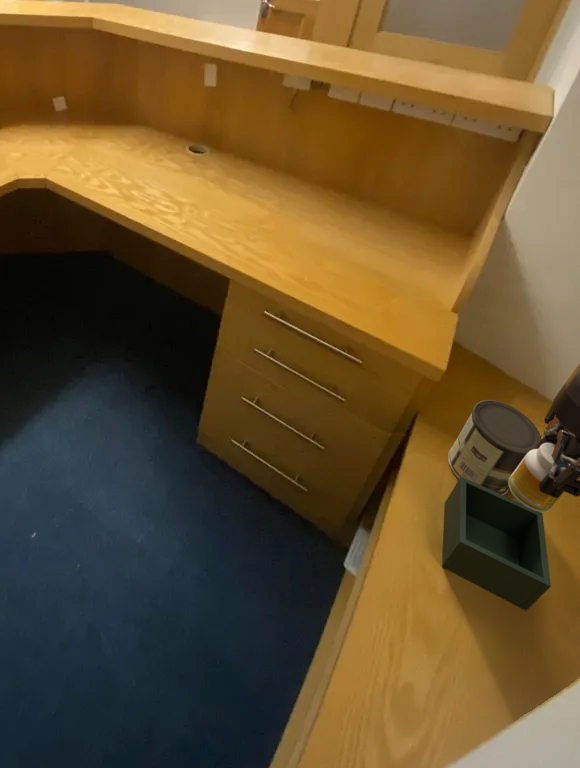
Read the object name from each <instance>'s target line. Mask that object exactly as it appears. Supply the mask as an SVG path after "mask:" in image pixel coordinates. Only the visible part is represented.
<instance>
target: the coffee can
mask: <svg viewBox="0 0 580 768" xmlns="http://www.w3.org/2000/svg"><path fill="white" fill-rule="evenodd" d="M541 440H542V436H541V433H540V431H539V429H538V427H537V426H536V424H535V423H534V422H533V421H532V420H531V419H530V417H528V416H527V415H526V414H524V413H523V412H522V411H521V410H519V409H518V408H516V407H514V406H512V405H510V404H508V403H505V402H502V401H499V400H494V399H484V400H481V401H478V402H476V404H475V405H474V406H473V408H472V410H471V413H470V415H469V417H468V419H467V421H466V422H465V424H464V426H463V428H462V429H461V431H460V433H459V434H458V436H457V438H456V440H455V441H454V443H453V445H452V447H450V449H449V450H448V452H447V453H448V454H447V460H448V464H449V467H450V469H451V471H452V473H453V474H454V475H455V477H456V478H457V479H458V480H459V479H460V478H461V477H463V478H466V479H468V480H470V481H472V482H475V483H477V484H479V485H481V486H483V487H486V488H488V489H490V490H492V491H495V492H497V493H499V494H501V495H503V496H506V494H507V493H508V492H509V491H510V488H509V484H508V481H509V478H510V476H511V475H512V473H513V472H514V471H515V469H516V468H517V466H518V465H519V464H520V462H521V461H522V460H523V458H524V457H525V455H526V454H527V453H528V452H529V451H531V450H533V449H535V448H536V447H537V445H538V444H539V443H540V441H541Z"/></svg>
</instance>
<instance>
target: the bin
mask: <svg viewBox="0 0 580 768" xmlns="http://www.w3.org/2000/svg"><path fill="white" fill-rule="evenodd" d="M443 512H444V513H443V531H442V532H443V533H442V534H443V537H442V556H441V558H442V560H441V567H442V568H443V569H446V570H447V571H449V572H451V573H453V574H455V575H457V576H459V577H461V578H463V580H467V581H468V582H470V583H473V584H474V585H476V586H478V587H480V588H482V589H484V590H486V591H488V592H489V593H491V594H493V595H495V596H496V597H499V598H501V599H503V600H505V601H506V602H509V603H510V604H513V606H516V607H517V608H520V609H521V610H524V611H528V610H529V609H530V608H531V607H532V606H533V605H534V604H535V603H536V602H537V601H538V600H539V599H540V598H541V597H542V596H543V595H544V594H545V593H546V592H547V591H548V590H549V589H550V588H551V586H552V585H551V577H550V576H551V575H550V567H549V559H548V549H547V541H546V540H547V539H546V533H545V531H546V530H545V524H544V523H545V522H544V515H543V513H544V512H539V511H535V510H532V509H530V508H528V507H526V506H524V505H523V504H522V503H520V502H519V501H518V500H514V499H513V498H510V497H508V496H506V495H501V494H499V493H497V492H495V491H492V490H490V489H488V488H486V487H483V486H481V485H479V484H477V483H475V482H472V481H470V480H468V479H466V478H463V477H461V478H460V479H458V481H457V483H456V484H455V485H454V487H453V489H452V490H451V492H450V493H449V495H448V497H447V498H446V500H445V502H444V510H443Z"/></svg>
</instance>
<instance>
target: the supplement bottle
mask: <svg viewBox="0 0 580 768" xmlns="http://www.w3.org/2000/svg"><path fill="white" fill-rule="evenodd" d="M555 446H556V445H555V444H552V443H544V444H542V445H541V446H540V447H539V448H538V449H533V450H531V451H529V452H528V453H527V454H526V455H525V457H524V458H523V460H522V461H521V462H520V464H519V465H518V466H517V468H516V469H515V471H514V472H513V473H512V475H511V476H510V478H509V481H508V484H509V491H510V493H511V494H512V496H513V497H514V498H515V499H516V501H517V502H519V503H521V504H523V505H524V506H526V507H528V508H530V509H532V510H535V511H539V512H541V513H544V512H547V511H549V510H550V509H552V507H553V506H554V505H555V504H556V502H557V501H558V500H559V499H560V497H559V498H554V497H552V496H549V495H547V494H545V493H542V492H541V491H540V490H539V484H540V483H541V482H542V480H543V479H544V478H545V476H546V475H547V474H548V473H549V472H550V470H551V468H552V465H553V463H554V461H553V459H552V457H551V455H552V453H553V450H554V448H555ZM561 457H563V458H566V459H568V460H571V461H573V462H575V460H574V459H571V458H569V457H566V456H565V455H563V454H562V455H561ZM566 469H567V468H565V467H562V468H561V469H560V471H559V472H561V473H562V472H563V471H564V470H566ZM564 493H565V492H563V493H562V494H561V496H562V495H563V494H564Z"/></svg>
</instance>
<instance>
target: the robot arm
mask: <svg viewBox="0 0 580 768" xmlns="http://www.w3.org/2000/svg"><path fill="white" fill-rule="evenodd" d="M544 424H546V425H547V426H546V427H545V428H544V429H543V437H542V438H541V441H540V443H539V444H538V445H537V447H536V448H535V449H538V448H539V447H540V446H541V445H542V444H544V443H552V444H555V445H556V446H555V448H554V450H553V453H552V455H551V457H552V459H553V461H554V463H553V465H552V468H551V470H550V472H549V473H548V474H547V475H546V476H545V478H544V479H543V480H542V482H541V483H540V484H539V490H540V491H541V492H542V493H545V494H547V495H549V496H552V497H554V498H559V499H560V498H561V496H562V495H563V494H564V493H566V494H568V495H572V496H573V497H576V498H578V497H580V363H579V364H578V365H577V366H576V367H575V368H574V369H573V371H572V372H571V374H570V375H569V377H568V378H567V380H566V381H565V383H564V384H563V385H562V387H561V388H560V389H559V391H558V392H557V394H556V395H555V397H554V398H553V400H552V404H551V406H550V407H549V409H548V411H547V413H546V414H545V416H544ZM562 454H563V455H565V456H566V457H569V458H571V459H573V460H574V462H573V461H571V460H568V459H566V458H563V457H561V455H562ZM562 467H565V468H567V469H566V470H564V471H563V472H562V473H561V472H559V471H560V469H561V468H562ZM563 492H564V493H563ZM562 493H563V494H562ZM561 494H562V495H561Z"/></svg>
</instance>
